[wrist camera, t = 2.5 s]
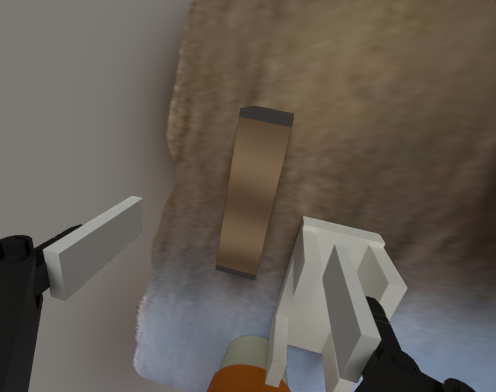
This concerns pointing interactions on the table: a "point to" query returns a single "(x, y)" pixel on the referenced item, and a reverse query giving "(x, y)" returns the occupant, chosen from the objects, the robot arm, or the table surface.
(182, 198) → the table surface
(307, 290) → the post stand
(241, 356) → the reusable coffee cup
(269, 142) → the rail
